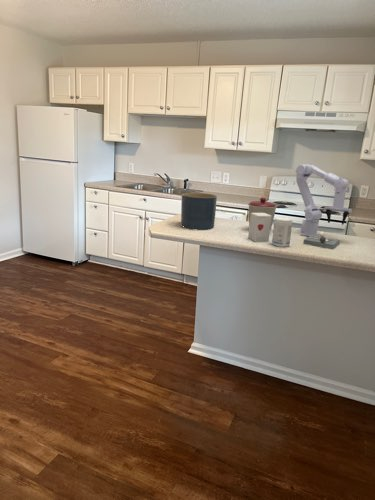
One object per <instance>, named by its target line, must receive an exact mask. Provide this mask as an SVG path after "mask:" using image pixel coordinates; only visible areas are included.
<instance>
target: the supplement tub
mask: <svg viewBox="0 0 375 500" xmlns="http://www.w3.org/2000/svg"><path fill="white" fill-rule="evenodd" d="M272 229H273V230H272V240H271V243H272V245H273V246H276V247H284V248H285V247H290V244H291V238H292V237H291V236H292V229H293V219H292V218H290V217H285V216H277V217H274V219H273V227H272Z"/></svg>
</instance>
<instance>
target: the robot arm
mask: <svg viewBox="0 0 375 500" xmlns="http://www.w3.org/2000/svg"><path fill="white" fill-rule="evenodd" d="M295 173H296V180H295V182H296V183H297V184H296V185H297V187H298V190H299V192H300V195H301V198H302V200H303V204H304V207H305V208H304V212H303V213H304V220H302V221H301V227H300V233H299V235H301V236H306V237H309V236H311V235H315V236H319V233H318V228H319V222H320V220H321V218H323V214H322V212H321V210H320V209H319V207H318V206H317V205H316V204H315V202H314V199H313V196H312V193H311V190H310V188H309V185H308V182H307V180H308V179H309V177H311V176H312V174H314V175H316V176H318V177H321V178H322V179H323V180H324V182H325V183H327V184H329V185H331V186H333V187H334V197H333V202H332V203H333V204H332V206H329V205H326V206H324V209H323V210H324V211H325V214H326V217H327V223H331V218H332V211H334V212H335V211H336V212H340V213H341V212H342V221H341V225H342V226H343V225H345V221H346V219H347V217H348V216H349V214H350V213H352V212H353V211H352V208H346V207H344V206H345V199H346V192H347V189H348V187H349V186H350V185H349V184H350V182H349V180H348V179H347V178H342V176H340V175H336V174H335V173H334V172H328V173H327V172H326V171H324V170H323V169H322V168H319V167H317V166H316V165H313V164H311V163H307V164H304V163H301V164H298V165H297V167H296V169H295Z"/></svg>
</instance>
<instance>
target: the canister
mask: <svg viewBox="0 0 375 500" xmlns="http://www.w3.org/2000/svg"><path fill="white" fill-rule="evenodd" d="M247 206H248V227H249V226H250V216H251V213H266V214H269V215H271V225H270V230H271V229H272V228H273V224H274V220H275V214H276V210H277V208H278V204H277V205H276V203H274V202H271V201H267V198H265V197H260V198H259V200H254V201H250V202H249V203H247Z"/></svg>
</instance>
